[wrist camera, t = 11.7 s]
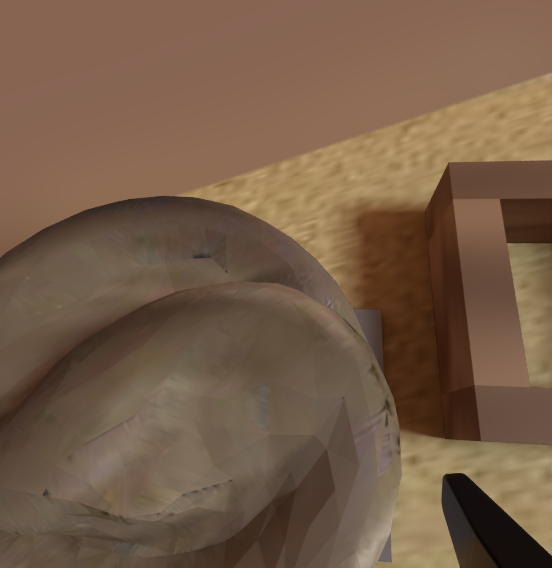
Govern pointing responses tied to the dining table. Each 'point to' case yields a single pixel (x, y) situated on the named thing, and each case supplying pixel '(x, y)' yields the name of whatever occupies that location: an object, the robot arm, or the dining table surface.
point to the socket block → (486, 298)
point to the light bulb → (187, 398)
